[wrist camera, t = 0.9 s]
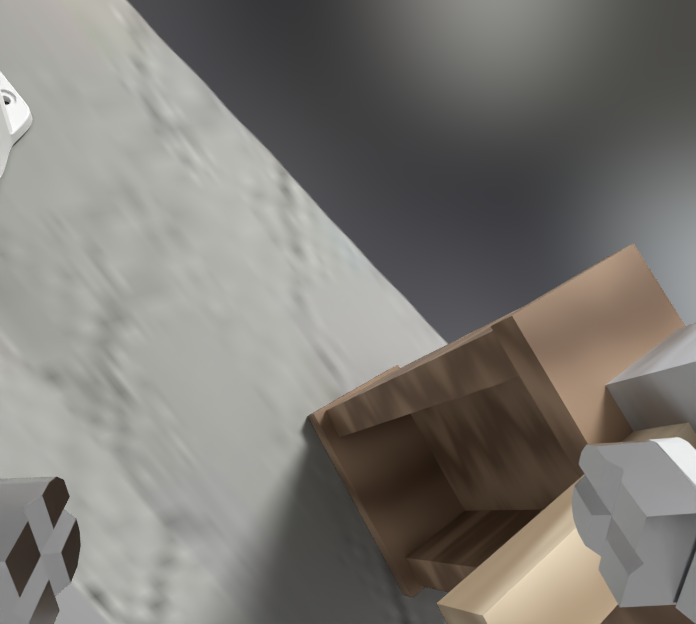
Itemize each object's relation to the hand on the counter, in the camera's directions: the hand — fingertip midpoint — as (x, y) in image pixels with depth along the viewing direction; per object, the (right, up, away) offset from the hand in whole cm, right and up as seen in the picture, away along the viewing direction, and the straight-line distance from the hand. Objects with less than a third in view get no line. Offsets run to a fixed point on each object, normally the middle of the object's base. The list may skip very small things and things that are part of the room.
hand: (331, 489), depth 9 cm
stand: (+4, -11, +39) cm, 41 cm away
